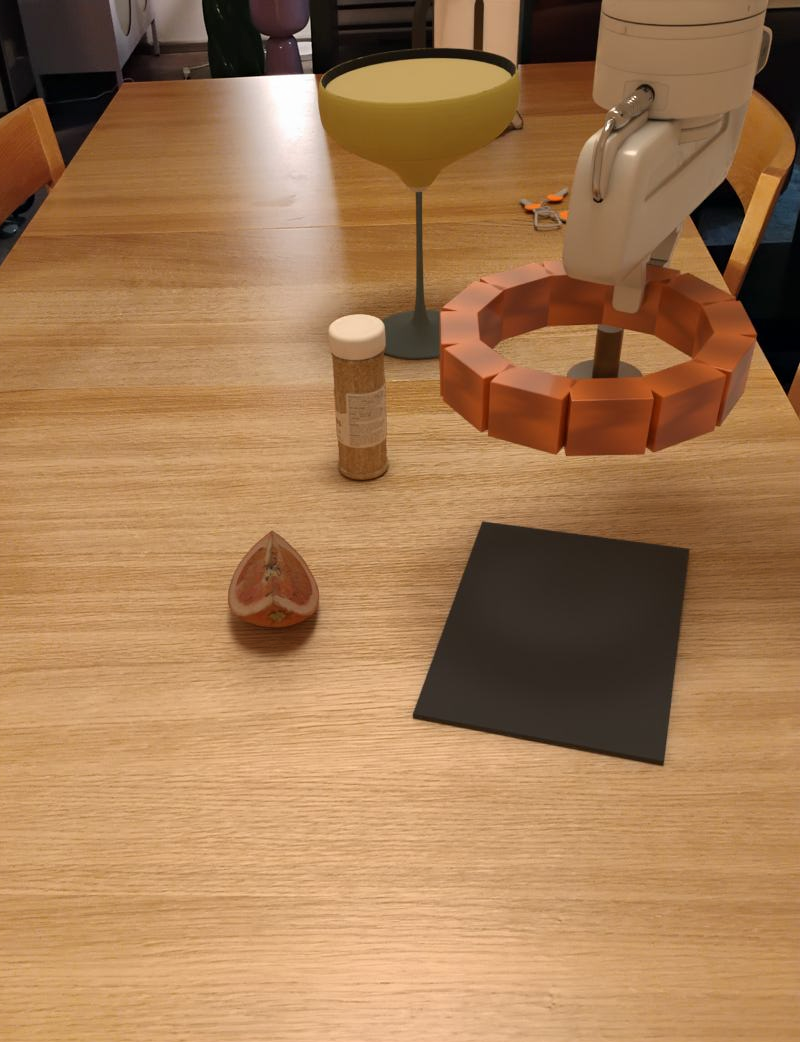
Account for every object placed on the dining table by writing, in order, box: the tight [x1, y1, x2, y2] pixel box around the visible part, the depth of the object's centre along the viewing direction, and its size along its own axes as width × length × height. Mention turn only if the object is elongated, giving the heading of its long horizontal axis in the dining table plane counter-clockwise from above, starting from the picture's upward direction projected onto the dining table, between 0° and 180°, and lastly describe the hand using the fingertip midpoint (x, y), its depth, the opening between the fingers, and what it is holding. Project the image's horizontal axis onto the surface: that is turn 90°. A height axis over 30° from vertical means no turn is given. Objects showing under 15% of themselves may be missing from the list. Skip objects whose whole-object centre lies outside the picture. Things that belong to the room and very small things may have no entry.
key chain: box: [518, 187, 571, 229], centre depth 130 cm, size 13×7×1 cm, turn 179°
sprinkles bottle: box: [327, 313, 390, 481], centre depth 86 cm, size 5×5×13 cm
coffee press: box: [411, 0, 525, 130], centre depth 146 cm, size 17×16×30 cm
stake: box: [566, 324, 644, 379], centre depth 96 cm, size 7×7×6 cm
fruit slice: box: [227, 530, 320, 628], centre depth 75 cm, size 8×7×5 cm
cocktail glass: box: [317, 47, 521, 360], centre depth 100 cm, size 18×18×25 cm
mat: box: [412, 521, 690, 766], centre depth 73 cm, size 22×16×1 cm
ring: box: [438, 259, 758, 457], centre depth 64 cm, size 18×18×4 cm
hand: (639, 296), depth 68 cm, fingers closed on ring, 2 cm apart
